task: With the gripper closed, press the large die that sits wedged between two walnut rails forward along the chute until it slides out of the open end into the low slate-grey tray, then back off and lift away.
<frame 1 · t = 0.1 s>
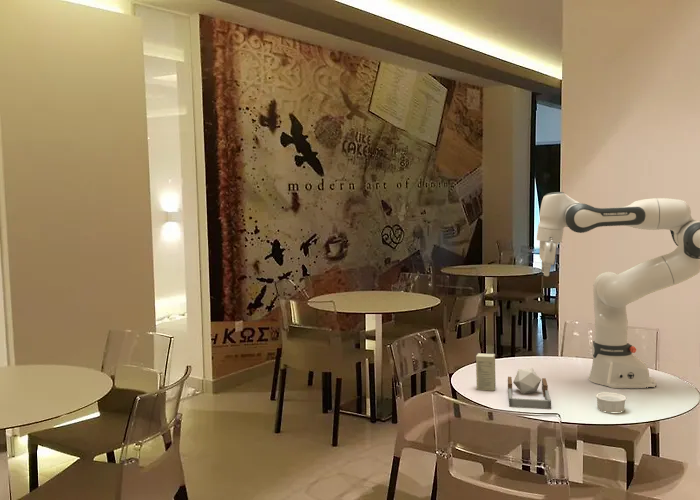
hand: (544, 274, 243), 39 cm above the table, tool pointing down, fingers open, 8 cm apart
die: (527, 392, 231), on the table
tray: (528, 401, 220), on the table
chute: (527, 392, 230), on the table
ramekin: (610, 410, 212), on the table
skincare box: (485, 389, 235), on the table
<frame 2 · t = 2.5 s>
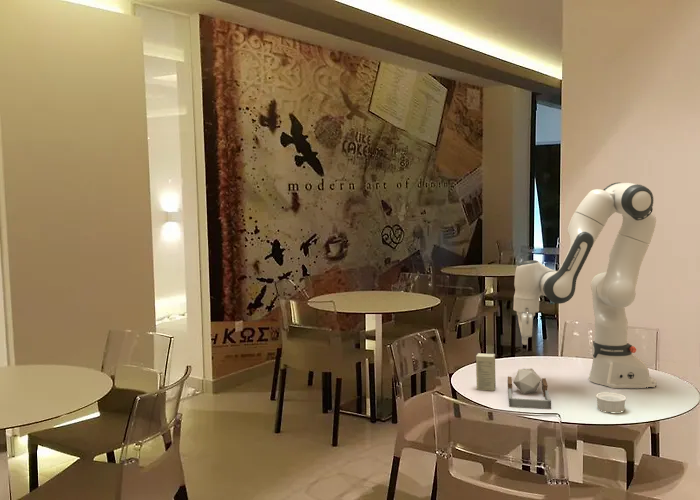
hand: (524, 343, 239), 14 cm above the table, tool pointing down, fingers closed
nothing on the table moved.
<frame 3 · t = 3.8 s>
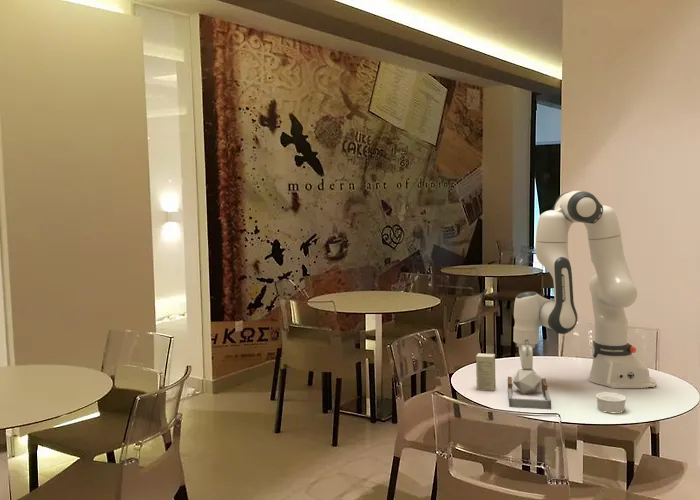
hand: (525, 375, 240), 3 cm above the table, tool pointing down, fingers closed
nothing on the table moved.
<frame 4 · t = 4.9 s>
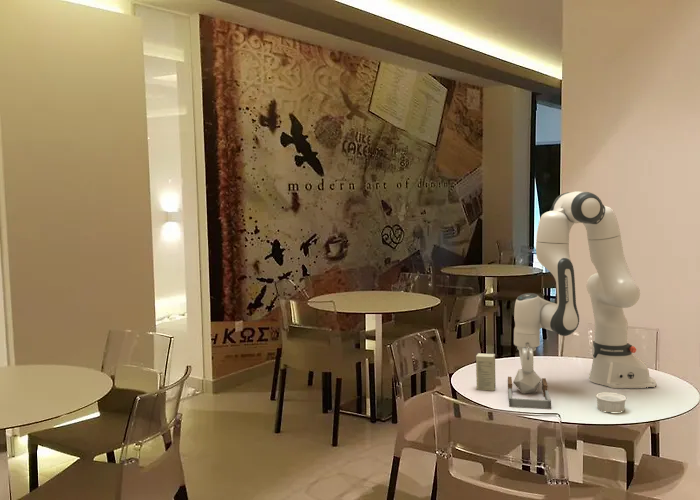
hand: (526, 378, 236), 3 cm above the table, tool pointing down, fingers closed
die: (527, 392, 231), on the table, touching gripper
everything else where it was.
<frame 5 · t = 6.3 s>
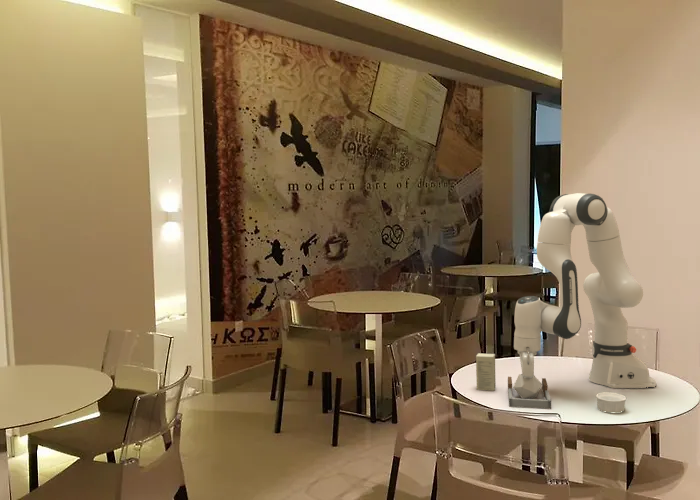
hand: (526, 383, 230), 3 cm above the table, tool pointing down, fingers closed
die: (527, 397, 225), on the table, touching gripper
everything else where it was.
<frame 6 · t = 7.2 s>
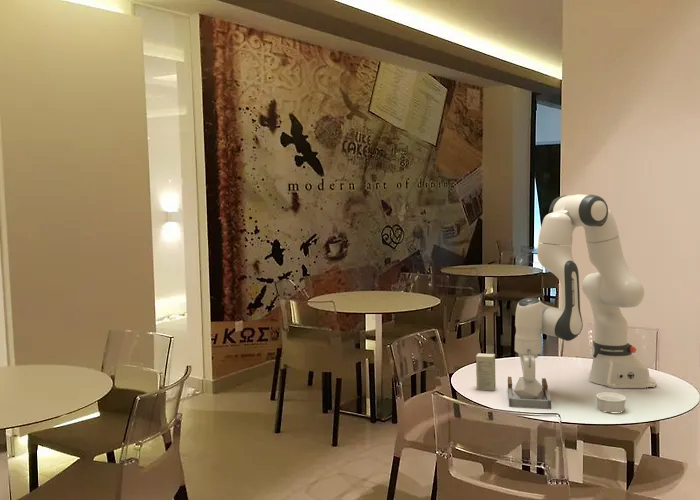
hand: (527, 386, 226), 3 cm above the table, tool pointing down, fingers closed
die: (527, 400, 222), on the table, touching gripper
everything else where it was.
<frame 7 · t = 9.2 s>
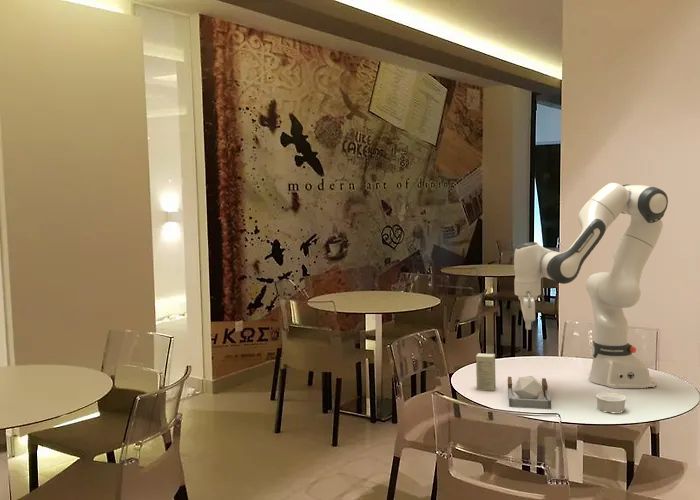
hand: (528, 328, 232), 21 cm above the table, tool pointing down, fingers closed
die: (527, 400, 222), on the table
everything else where it was.
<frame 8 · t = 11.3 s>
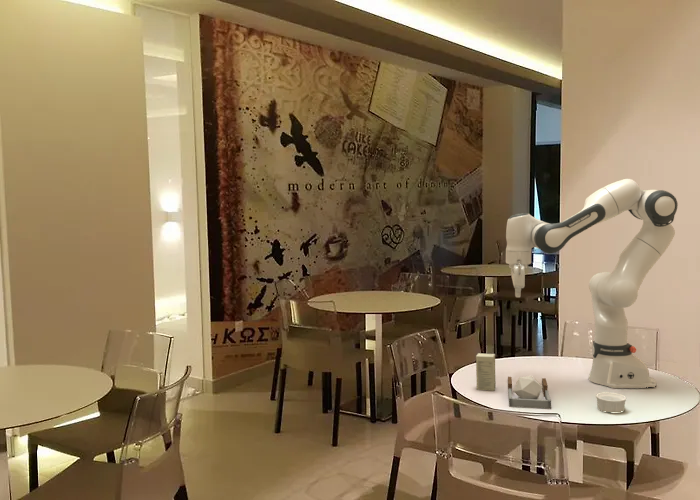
hand: (517, 296, 240), 31 cm above the table, tool pointing down, fingers closed
nothing on the table moved.
at the end: die inside the target area (1.7 cm from its centre), on the table; die moved 9.3 cm from its start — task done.
